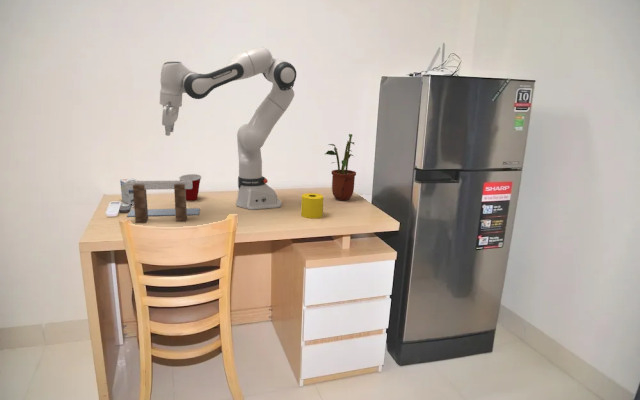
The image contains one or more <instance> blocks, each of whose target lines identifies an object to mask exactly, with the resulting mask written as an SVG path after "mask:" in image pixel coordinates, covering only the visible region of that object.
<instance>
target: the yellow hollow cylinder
mask: <svg viewBox="0 0 640 400" xmlns="http://www.w3.org/2000/svg"><path fill="white" fill-rule="evenodd" d="M300 206H301V207H300V208H301V209H300V211H301V212H300V215H301V218H305V219H309V220H311V219H313V220H314V219H321V218H322V217H323V215H324V214H323V210H324V195H323V194H321V193H315V192H309V193H308V192H307V193H302V194H301V205H300Z"/></svg>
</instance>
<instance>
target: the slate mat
mask: <svg viewBox="0 0 640 400" xmlns="http://www.w3.org/2000/svg"><path fill="white" fill-rule="evenodd" d="M186 209H187V217H188V216H189V217H190V216H200V210H201V209H200V208H199V207H196V208H195V207H193V208H192V207H191V208H188V207H186ZM149 217H176V213H175V208H148V218H149ZM126 218H135V209H130V211H129V212H128V213H127V214H126Z"/></svg>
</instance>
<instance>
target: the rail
mask: <svg viewBox="0 0 640 400" xmlns="http://www.w3.org/2000/svg"><path fill="white" fill-rule="evenodd" d="M125 184H126V190H133V185H144V190H146V191H147V190H174V185H184V186H185V189H192V187H193V186H192V180H190V181H180V180H138V181H126V183H125Z"/></svg>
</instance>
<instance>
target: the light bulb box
mask: <svg viewBox="0 0 640 400" xmlns="http://www.w3.org/2000/svg"><path fill="white" fill-rule="evenodd" d="M126 181H139V180H138V179H136V178H134V177H133V178H132V177H131V178H123V179H120V180H119V182H120V183H119V184H120V191H121V202H124V203H125V204H127V203H128V204H132V205H131V206H134V196H133V190H126V184H125V183H126ZM128 204H127V205H128Z"/></svg>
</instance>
